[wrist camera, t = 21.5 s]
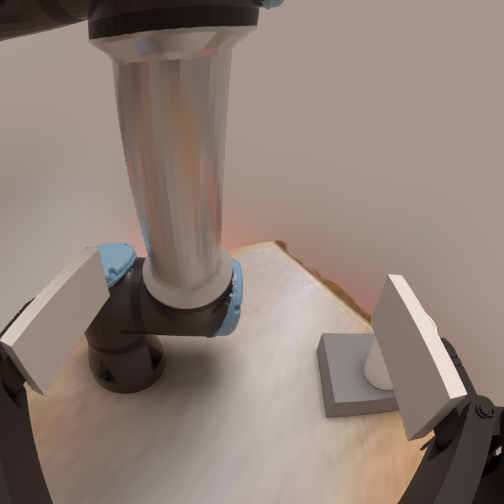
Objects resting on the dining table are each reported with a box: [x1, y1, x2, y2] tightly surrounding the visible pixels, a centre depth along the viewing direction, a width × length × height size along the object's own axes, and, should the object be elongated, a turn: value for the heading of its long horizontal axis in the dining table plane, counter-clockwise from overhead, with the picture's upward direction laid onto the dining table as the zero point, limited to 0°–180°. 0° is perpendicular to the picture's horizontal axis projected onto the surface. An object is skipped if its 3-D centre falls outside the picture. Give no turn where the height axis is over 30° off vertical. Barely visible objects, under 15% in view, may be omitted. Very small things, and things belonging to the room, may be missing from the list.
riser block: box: [317, 333, 399, 417], centre depth 45 cm, size 16×16×5 cm
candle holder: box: [363, 314, 437, 390], centre depth 39 cm, size 10×10×12 cm
